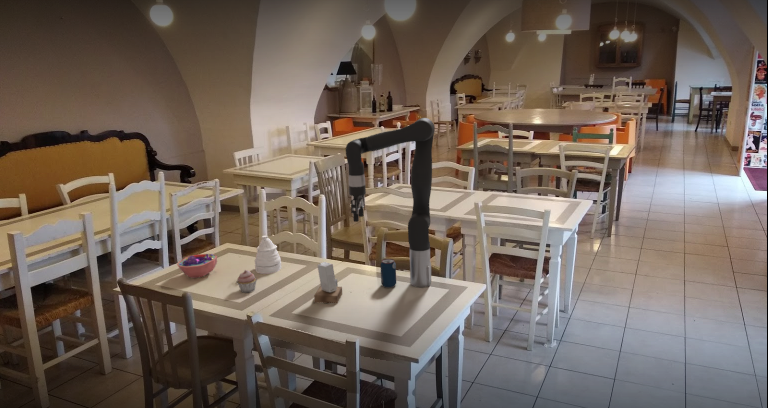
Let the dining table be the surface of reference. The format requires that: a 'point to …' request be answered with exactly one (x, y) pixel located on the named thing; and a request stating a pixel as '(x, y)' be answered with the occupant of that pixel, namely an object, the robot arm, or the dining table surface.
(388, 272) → the soda can
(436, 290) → the dining table surface
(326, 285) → the skincare box
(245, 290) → the cupcake
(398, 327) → the dining table surface
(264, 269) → the honey pot
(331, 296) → the walnut block
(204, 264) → the cell model
